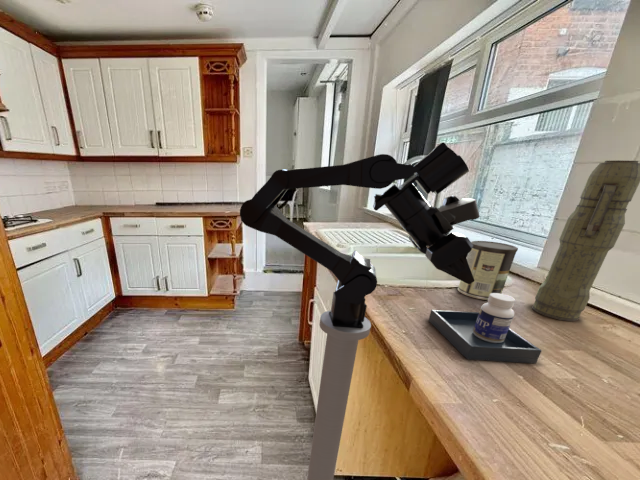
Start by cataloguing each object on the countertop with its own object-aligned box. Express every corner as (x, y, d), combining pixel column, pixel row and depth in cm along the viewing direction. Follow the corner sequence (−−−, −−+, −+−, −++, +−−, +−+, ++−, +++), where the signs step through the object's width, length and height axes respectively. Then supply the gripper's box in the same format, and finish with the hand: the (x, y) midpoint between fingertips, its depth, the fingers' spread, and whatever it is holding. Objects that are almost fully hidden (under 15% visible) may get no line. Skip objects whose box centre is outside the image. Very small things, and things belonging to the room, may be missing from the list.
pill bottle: (467, 329, 64) (480, 290, 61) (494, 331, 64) (508, 292, 60) (480, 342, 60) (495, 301, 56) (510, 345, 59) (526, 303, 56)
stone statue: (576, 310, 78) (646, 162, 65) (581, 327, 69) (663, 160, 56) (531, 300, 83) (587, 161, 70) (531, 314, 75) (595, 159, 62)
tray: (466, 359, 56) (471, 346, 55) (428, 320, 70) (431, 309, 69) (536, 363, 55) (542, 350, 54) (483, 323, 69) (487, 312, 68)
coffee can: (487, 288, 91) (503, 241, 86) (508, 302, 81) (527, 251, 76) (450, 285, 92) (464, 239, 87) (466, 298, 83) (483, 248, 78)
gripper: (476, 183, 45) (536, 262, 47) (439, 179, 62) (484, 237, 64) (407, 232, 50) (464, 302, 51) (390, 216, 67) (433, 269, 68)
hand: (462, 274), depth 58 cm, fingers open, 9 cm apart
